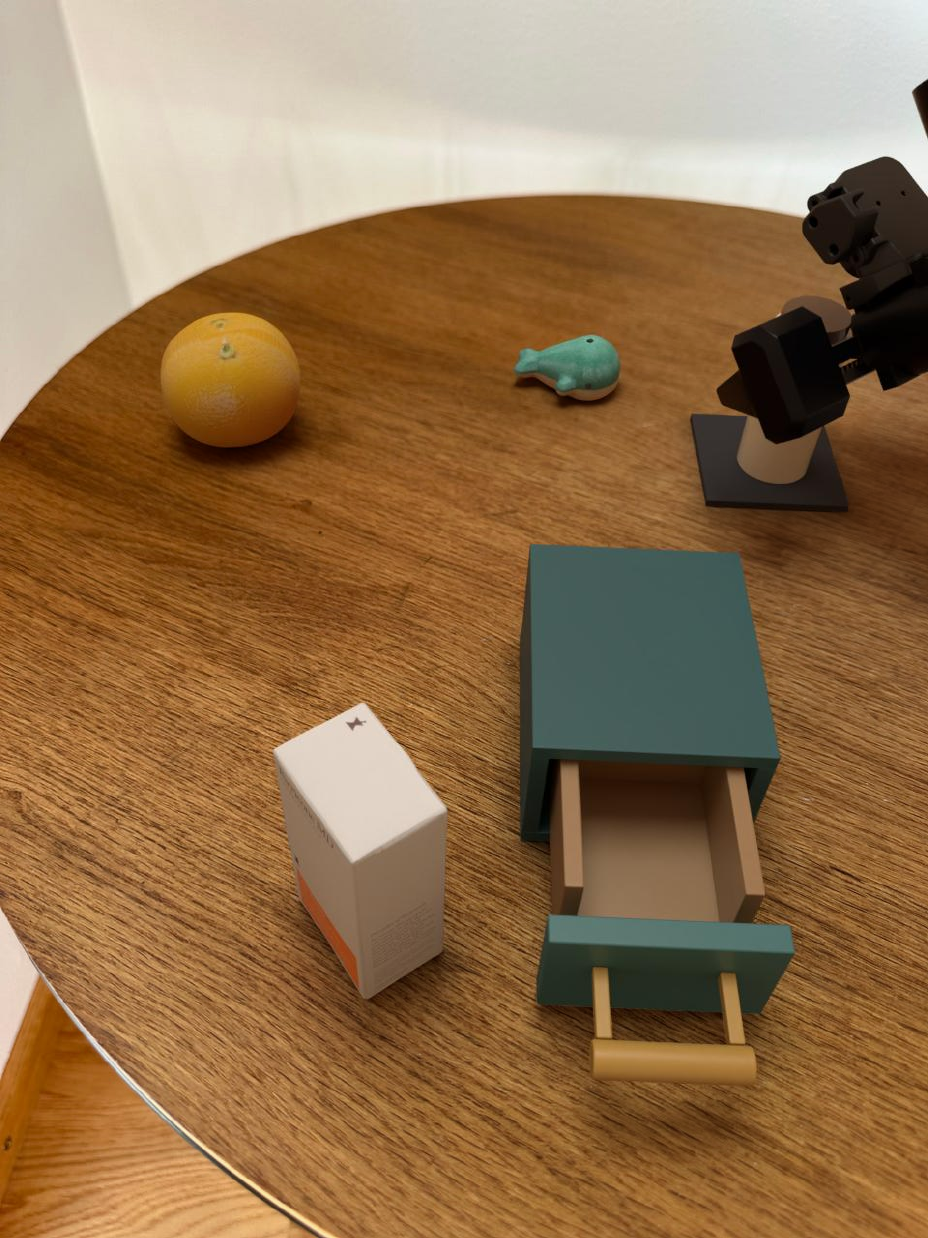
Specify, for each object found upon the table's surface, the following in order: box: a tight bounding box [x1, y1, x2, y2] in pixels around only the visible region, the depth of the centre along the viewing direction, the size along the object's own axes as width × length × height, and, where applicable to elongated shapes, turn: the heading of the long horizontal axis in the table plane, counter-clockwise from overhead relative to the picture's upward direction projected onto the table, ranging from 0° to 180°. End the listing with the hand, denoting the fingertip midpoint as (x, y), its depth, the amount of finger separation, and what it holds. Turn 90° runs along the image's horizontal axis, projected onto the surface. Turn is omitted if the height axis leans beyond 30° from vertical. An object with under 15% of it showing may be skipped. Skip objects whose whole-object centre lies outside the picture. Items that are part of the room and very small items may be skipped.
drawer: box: [535, 759, 796, 1088], centre depth 45 cm, size 16×9×6 cm, turn 178°
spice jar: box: [737, 294, 852, 484], centre depth 67 cm, size 5×5×11 cm
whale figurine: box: [513, 334, 621, 402], centre depth 75 cm, size 6×7×4 cm
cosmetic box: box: [272, 702, 448, 1000], centre depth 44 cm, size 6×4×12 cm
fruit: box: [160, 312, 302, 448], centre depth 69 cm, size 9×8×8 cm
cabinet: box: [519, 543, 782, 843], centre depth 53 cm, size 13×11×8 cm
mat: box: [689, 413, 850, 513], centre depth 71 cm, size 9×9×1 cm
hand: (772, 371), depth 67 cm, fingers open, 9 cm apart
